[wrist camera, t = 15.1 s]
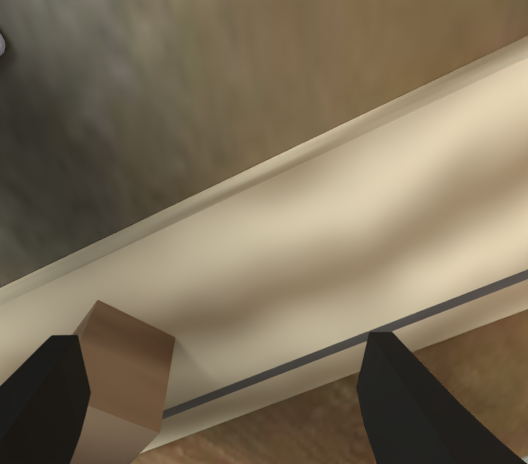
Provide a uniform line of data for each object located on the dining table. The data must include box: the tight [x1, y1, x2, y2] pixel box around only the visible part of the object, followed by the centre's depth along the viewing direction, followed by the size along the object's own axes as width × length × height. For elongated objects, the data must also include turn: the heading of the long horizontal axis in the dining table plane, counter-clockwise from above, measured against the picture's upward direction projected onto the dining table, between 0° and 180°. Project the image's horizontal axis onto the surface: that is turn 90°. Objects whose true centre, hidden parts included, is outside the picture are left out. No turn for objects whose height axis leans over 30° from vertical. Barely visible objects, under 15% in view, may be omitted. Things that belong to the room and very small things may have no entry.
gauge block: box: [70, 300, 175, 464], centre depth 18 cm, size 8×4×5 cm, turn 142°
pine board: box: [0, 36, 528, 453], centre depth 20 cm, size 12×30×2 cm, turn 116°
